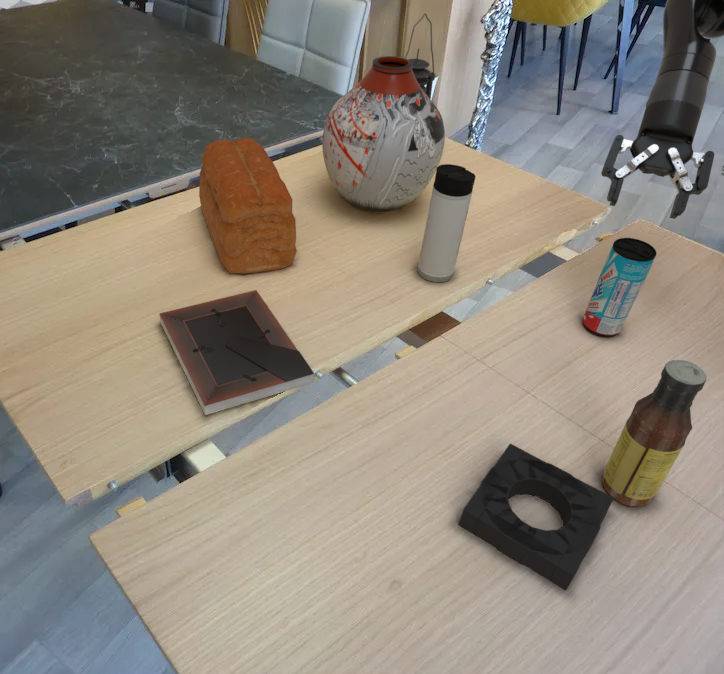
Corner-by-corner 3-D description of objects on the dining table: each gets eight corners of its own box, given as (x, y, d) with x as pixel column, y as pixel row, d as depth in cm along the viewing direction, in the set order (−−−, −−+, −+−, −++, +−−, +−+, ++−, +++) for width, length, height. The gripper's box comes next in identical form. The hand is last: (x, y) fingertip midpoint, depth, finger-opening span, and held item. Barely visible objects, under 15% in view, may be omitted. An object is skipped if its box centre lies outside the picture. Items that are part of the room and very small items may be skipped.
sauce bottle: (659, 487, 83) (733, 372, 70) (642, 518, 80) (716, 403, 67) (607, 459, 87) (669, 344, 74) (588, 488, 83) (649, 373, 70)
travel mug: (408, 268, 119) (427, 164, 106) (438, 259, 122) (459, 156, 109) (430, 287, 115) (452, 181, 102) (460, 277, 117) (485, 172, 104)
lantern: (407, 136, 162) (427, 2, 143) (438, 152, 156) (464, 14, 136) (368, 148, 157) (384, 11, 137) (399, 165, 150) (420, 23, 131)
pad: (607, 512, 80) (615, 497, 78) (566, 592, 72) (575, 577, 71) (503, 457, 87) (509, 441, 85) (456, 524, 79) (461, 509, 77)
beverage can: (596, 311, 111) (629, 233, 101) (627, 330, 107) (665, 252, 97) (573, 323, 108) (604, 244, 98) (604, 343, 104) (640, 264, 95)
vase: (422, 176, 146) (446, 43, 128) (440, 232, 129) (471, 87, 110) (316, 173, 146) (325, 40, 128) (320, 229, 129) (330, 83, 111)
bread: (263, 196, 138) (264, 126, 128) (300, 268, 119) (304, 191, 109) (197, 203, 135) (192, 132, 126) (223, 278, 116) (220, 201, 106)
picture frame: (313, 385, 96) (256, 300, 111) (314, 372, 95) (256, 288, 109) (205, 417, 91) (160, 324, 106) (204, 405, 89) (159, 312, 104)
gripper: (628, 90, 100) (597, 192, 99) (735, 106, 95) (703, 213, 95) (618, 112, 107) (589, 208, 106) (716, 128, 103) (687, 228, 102)
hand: (643, 210), depth 101 cm, fingers open, 8 cm apart
